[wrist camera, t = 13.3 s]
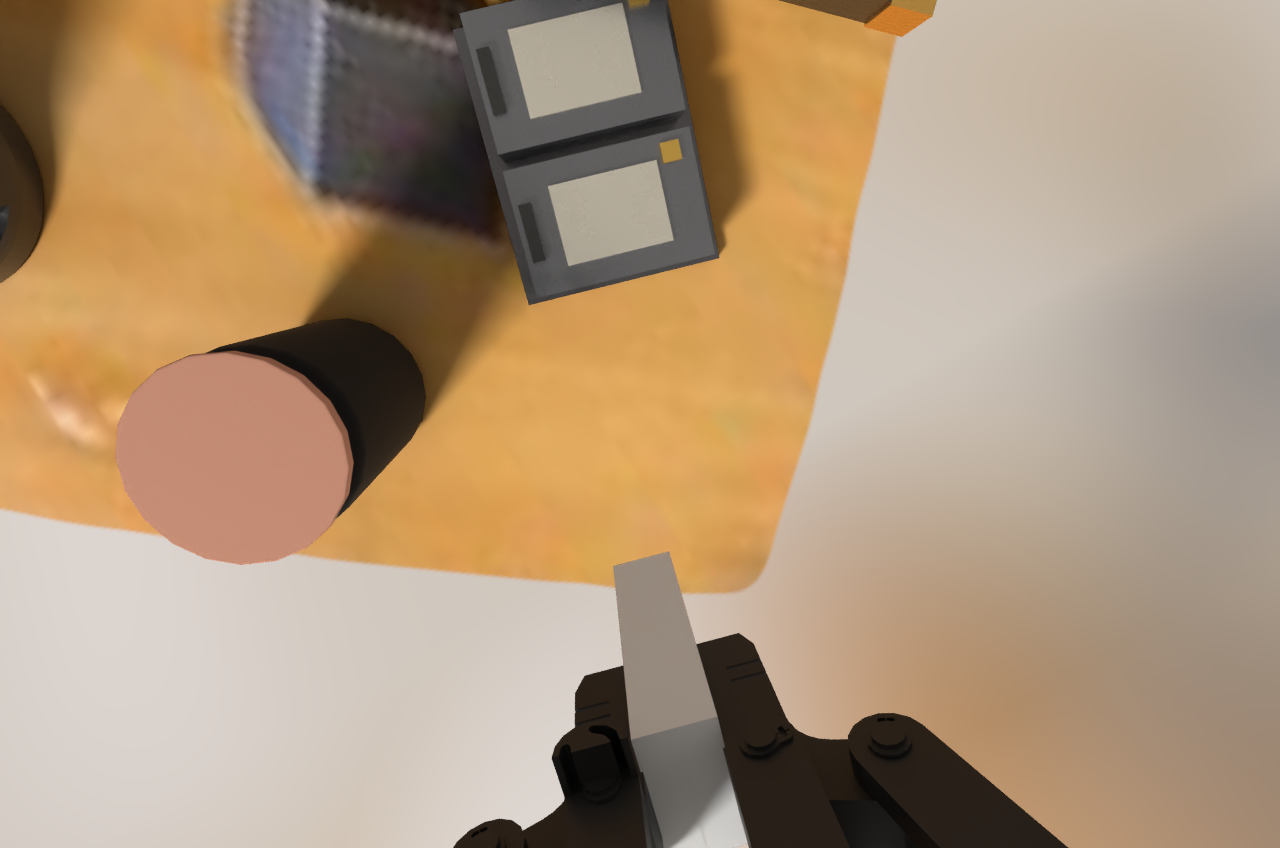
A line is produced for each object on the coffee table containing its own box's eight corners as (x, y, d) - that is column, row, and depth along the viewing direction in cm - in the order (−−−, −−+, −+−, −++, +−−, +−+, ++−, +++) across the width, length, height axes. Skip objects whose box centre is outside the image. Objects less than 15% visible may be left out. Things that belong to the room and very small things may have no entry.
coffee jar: (255, 337, 48) (72, 384, 31) (402, 300, 49) (302, 326, 31) (309, 475, 51) (169, 589, 34) (448, 439, 51) (380, 534, 34)
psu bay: (529, 303, 49) (523, 310, 44) (455, 34, 45) (438, 4, 39) (716, 257, 50) (733, 258, 44) (661, -15, 45) (672, -51, 40)
